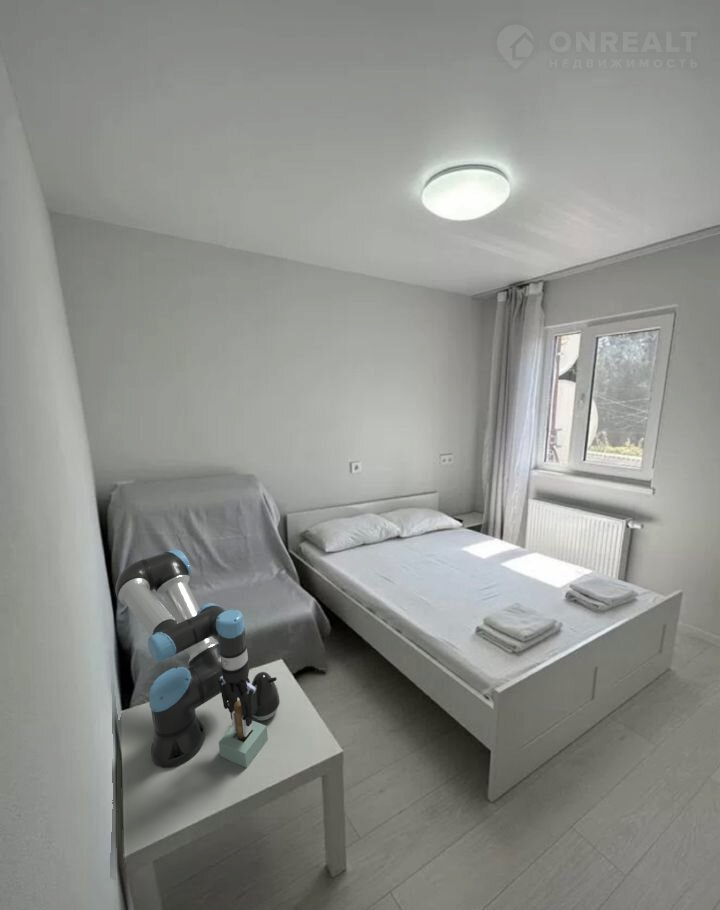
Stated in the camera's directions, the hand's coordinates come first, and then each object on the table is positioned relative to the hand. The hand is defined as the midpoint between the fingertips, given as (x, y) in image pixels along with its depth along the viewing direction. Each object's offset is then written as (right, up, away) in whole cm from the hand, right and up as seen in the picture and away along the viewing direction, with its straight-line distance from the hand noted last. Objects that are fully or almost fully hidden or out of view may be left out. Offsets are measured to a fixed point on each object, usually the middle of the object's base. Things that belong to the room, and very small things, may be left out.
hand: (242, 730), depth 121 cm
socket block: (0, -6, +1) cm, 6 cm away
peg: (0, -3, 0) cm, 3 cm away
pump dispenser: (+4, -4, +14) cm, 15 cm away
